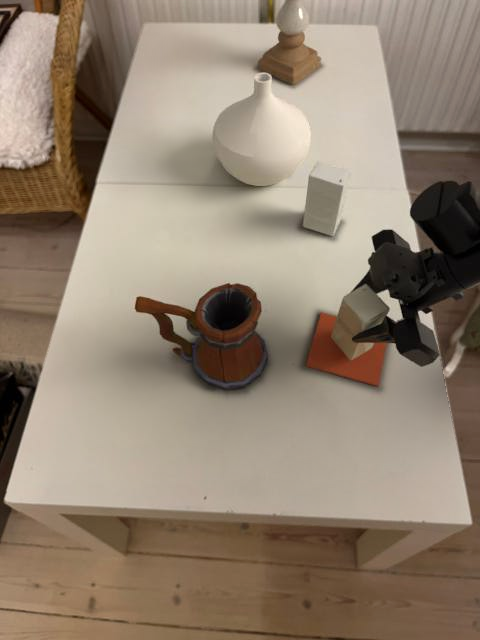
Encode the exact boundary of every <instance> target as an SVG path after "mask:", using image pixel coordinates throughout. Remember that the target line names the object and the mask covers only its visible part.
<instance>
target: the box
mask: <svg viewBox="0 0 480 640" xmlns="http://www.w3.org/2000/svg"><path fill="white" fill-rule="evenodd" d="M351 291H352V290H351ZM351 291H350V292H351ZM350 292H349V293H348V294H346V295H344V296H343V297H342V300H341V302H340V306H339V309H338V313H337V314H336V316H337V318H336V322H335V325H334V328H333V331H332V334H331V338H332V339H333V340H334V342H335V343H336V344H337V345H338V347H339V348H340V349H341V350H342V351H343V352H344V354H345V355H346V356H347V357H348V358H349V359H350V360H353V359H355V358H356V357H358V356H360V355H362V354H363V353H365V352H366V351H368V350H370V349H371V348H372V346H373V344H374V343H355V342H354V341H352V337H354V336H355V335H357V334H359V333H361V332H363V331H365V330H368V329H370V328H372V327H374V326H377V325H379V324H381V323H382V321H383V319H384V318H385V316H388V314H389V312H390V310H391V308H390V307H389V305H387V304H386V302H385V301H384V300H383V299H382V298H381V297H380V296H379V295H378V294H376V293H375V292H374V291H373V290H372V289H371V288H370V287H369V286H368V285H367V284H365V285H363V286H361V287H359V288H357V289H356V290H354V291H352V292H351V293H350Z"/></svg>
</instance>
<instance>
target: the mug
mask: <svg viewBox="0 0 480 640" xmlns="http://www.w3.org/2000/svg"><path fill="white" fill-rule="evenodd" d="M134 310H135V312H136V313H139V314H140V313H141V314H148V315H151V316H152V317H153V318H154V320H155V321H156V322H157V324H158V328H159V335H160V336H161V338H162V339H163V340H165V341H168V342H169V343H173V344H176V345H178V346H179V347H173V348H172V352H173V353H175V354H176V355H177V356H180V357H183V359H184V360H187V361H190V362H192V364H193V370H194V372H195V374H196V375H198V376H199V377H200V378H201V379H202V380H203V381H204V382H205V383H206V384H208V385H210V386H213V387H216V388H219V389H222V390H224V391H231V390H242V389H243V390H244V389H246V388H247V387H248V386H250V385H251V384H252V383H254V382H255V381H256V380H257V379H259V378H260V377H261V375H262V372H263V370H264V368H265V366H266V364H267V362H268V352H267V348H266V347H267V346H266V342H265V340H264V338H263V337H261V335H260V334H259V333H257V332H256V328H257V327H258V324H259V319H260V316H261V315H262V312H263V310H262V302H261V300H259V299H258V294H257V292H256V291H255V290H253V288H251V287H250V286H249V285H246V284H241V283H238V282H237V283H233V284H231V283H230V282H228V283H224V284H221V285H219V286H215V287H212V288H210V289H209V290H207V292H206V293H205V294H203V295H202V296H201V297H200V298H199V299H198V301H197V304H196V306H195V309H194V310H191V309H190V308H186V307H183V306H180V305H176V304H172V303H166V302H162V301H159V300H155V299H153V298H151V297H147V296H140V295H139V296H136V299H135V303H134ZM169 315H171V316H172V315H173V316H176V317H177V316H178V317H181V318H184V319H185V320H186V321H185V323H186V330H187V331H188V332H189V333H190V335H191V336H195V337H197V339H196V341H189V340H188V339H186V338H184V337H182V336H181V335H179V334H178V333H176V331H175V330H174V329H175V328H174V322H173V320H172V318H171V317H170V316H169ZM180 347H181V348H180Z"/></svg>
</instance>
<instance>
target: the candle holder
mask: <svg viewBox="0 0 480 640" xmlns="http://www.w3.org/2000/svg"><path fill="white" fill-rule="evenodd" d="M275 23H276V27H277V28H278V30H279V32H278V35H277V41H278V42H277V43H276V44H275V45H273V46H272V47H270V48H269V49H268V50H266V51H265V52H264V53H263V55H262V57H261V58H260V59H259V60H257V69H258V70H260V71H261V72H264V73H268V74H270V75H271V76H272V77H274V78H276V79H278V80H280V81H282V82H285V83H286V84H289V85H292V86H294V85H296V84H298V83H299V82H300V81H302V80H303V79H304V78H306V77H307V76H309V75H310V74H311V73H313V72H314V71H315V70H317V69H318V68H319V67H320V66H321V63H322V57H321V56H320V55H318V51H317V50H316V49H314V48H312V47H310V46H307V45H306V44H305V39H306V34H305V31H306V30H307V29H308V27H309V24H310V14H309V12H308V9H307V8H306V5H305V3H304V0H284V2H283V4H282V6H281V7H280V8H279V10H278V12H277V14H276V17H275ZM320 61H321V62H320ZM319 62H320V63H319ZM318 63H319V64H318ZM314 66H315V67H314Z"/></svg>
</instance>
